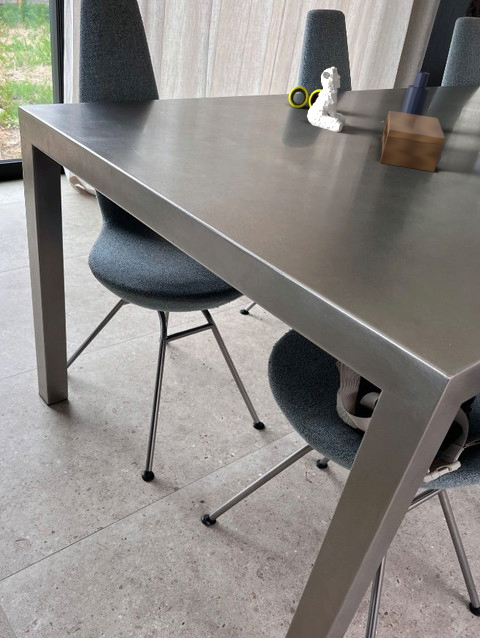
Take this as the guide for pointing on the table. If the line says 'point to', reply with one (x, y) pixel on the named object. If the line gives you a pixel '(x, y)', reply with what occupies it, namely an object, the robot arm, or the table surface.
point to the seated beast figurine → (327, 103)
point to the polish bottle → (416, 95)
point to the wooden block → (412, 141)
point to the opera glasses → (310, 99)
